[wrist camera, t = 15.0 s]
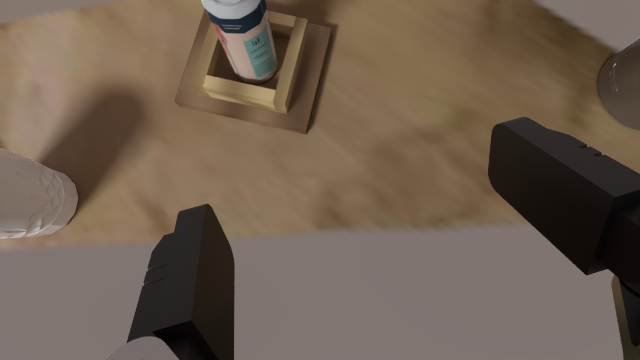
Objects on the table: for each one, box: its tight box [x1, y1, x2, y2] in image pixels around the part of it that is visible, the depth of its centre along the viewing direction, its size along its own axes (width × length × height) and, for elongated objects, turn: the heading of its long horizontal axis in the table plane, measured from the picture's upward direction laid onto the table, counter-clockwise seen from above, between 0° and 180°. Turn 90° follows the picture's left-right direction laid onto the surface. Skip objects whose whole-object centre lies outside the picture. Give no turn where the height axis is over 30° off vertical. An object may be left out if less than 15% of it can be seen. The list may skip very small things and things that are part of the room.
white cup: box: [0, 148, 78, 238], centre depth 31 cm, size 8×8×10 cm
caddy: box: [175, 10, 332, 134], centre depth 37 cm, size 14×12×4 cm
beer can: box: [201, 0, 278, 84], centre depth 32 cm, size 5×5×12 cm
